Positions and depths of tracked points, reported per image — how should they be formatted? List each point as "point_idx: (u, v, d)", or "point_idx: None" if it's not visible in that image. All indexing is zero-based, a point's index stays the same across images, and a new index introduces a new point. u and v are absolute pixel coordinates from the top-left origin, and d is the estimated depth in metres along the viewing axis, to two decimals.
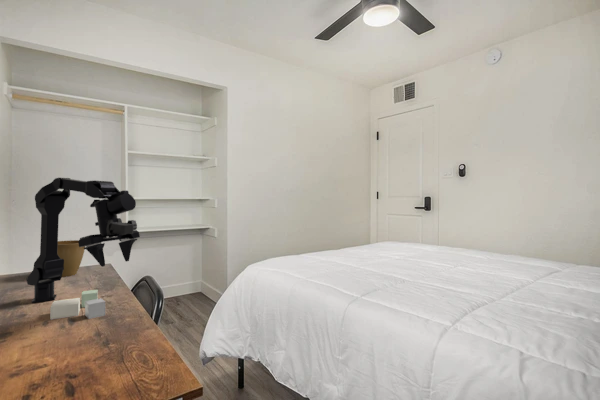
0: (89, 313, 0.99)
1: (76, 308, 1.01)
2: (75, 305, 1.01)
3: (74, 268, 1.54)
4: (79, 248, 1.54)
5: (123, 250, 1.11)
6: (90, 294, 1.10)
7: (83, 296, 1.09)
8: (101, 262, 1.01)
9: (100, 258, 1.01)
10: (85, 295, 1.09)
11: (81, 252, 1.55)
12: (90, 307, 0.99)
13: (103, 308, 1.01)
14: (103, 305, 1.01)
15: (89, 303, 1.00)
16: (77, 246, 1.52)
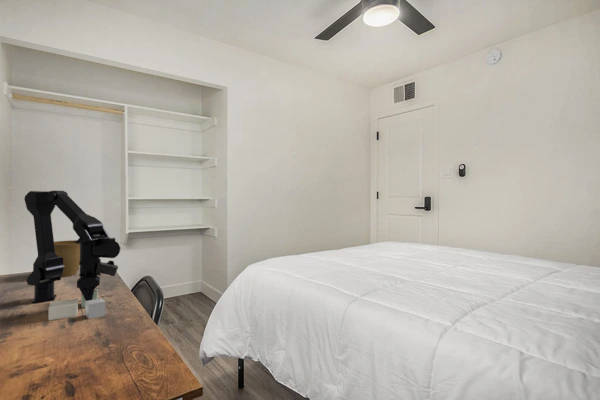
0: (89, 313, 0.99)
1: (74, 309, 1.01)
2: (73, 305, 1.01)
3: (74, 268, 1.54)
4: (79, 248, 1.54)
5: None
6: None
7: (83, 296, 1.09)
8: None
9: (91, 296, 1.09)
10: None
11: None
12: (90, 307, 0.99)
13: (103, 308, 1.01)
14: (103, 305, 1.01)
15: (89, 303, 1.00)
16: (77, 246, 1.52)
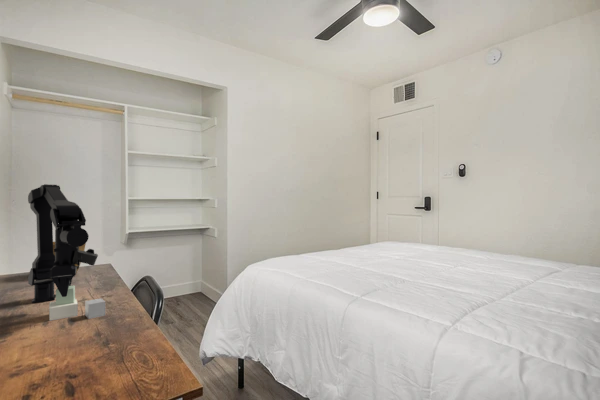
0: (89, 313, 0.99)
1: (75, 308, 1.01)
2: (74, 305, 1.01)
3: None
4: (79, 248, 1.54)
5: None
6: None
7: (57, 292, 1.00)
8: (65, 292, 0.99)
9: (66, 288, 0.98)
10: None
11: None
12: (90, 307, 0.99)
13: (103, 308, 1.01)
14: (103, 305, 1.01)
15: (89, 303, 1.00)
16: None
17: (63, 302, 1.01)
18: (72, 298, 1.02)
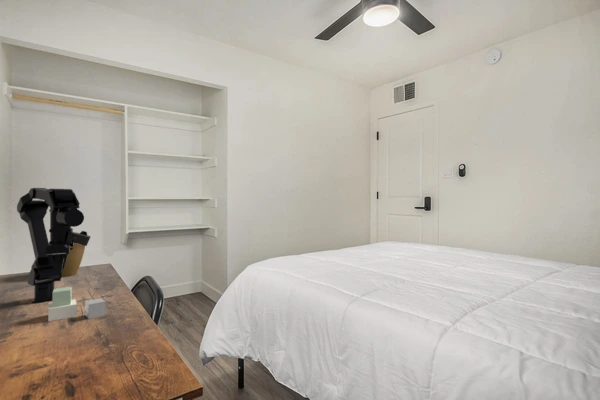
0: (89, 313, 0.99)
1: (74, 309, 1.01)
2: (73, 306, 1.00)
3: (74, 268, 1.54)
4: (79, 248, 1.54)
5: None
6: (62, 292, 1.00)
7: (54, 294, 0.99)
8: (59, 269, 1.06)
9: (60, 266, 1.06)
10: (57, 293, 0.99)
11: (81, 252, 1.55)
12: (90, 307, 0.99)
13: (103, 308, 1.01)
14: (103, 305, 1.01)
15: (89, 303, 1.00)
16: (77, 246, 1.52)
17: (60, 304, 0.99)
18: (69, 300, 1.01)
